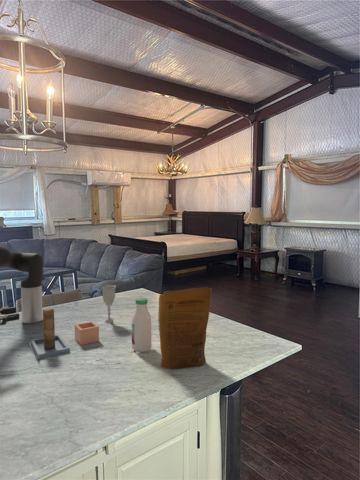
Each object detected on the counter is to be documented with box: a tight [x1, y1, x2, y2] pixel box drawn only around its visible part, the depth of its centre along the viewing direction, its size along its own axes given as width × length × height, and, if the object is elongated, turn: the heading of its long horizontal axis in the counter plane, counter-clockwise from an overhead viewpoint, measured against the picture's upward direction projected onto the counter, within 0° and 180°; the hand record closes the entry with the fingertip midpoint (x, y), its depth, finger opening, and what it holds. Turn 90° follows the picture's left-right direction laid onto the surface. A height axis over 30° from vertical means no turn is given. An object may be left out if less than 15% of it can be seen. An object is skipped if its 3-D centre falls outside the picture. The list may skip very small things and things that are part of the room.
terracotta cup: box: [74, 320, 100, 346], centre depth 135 cm, size 8×8×7 cm
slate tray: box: [30, 334, 71, 362], centre depth 127 cm, size 16×11×2 cm
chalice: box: [101, 284, 117, 324], centre depth 156 cm, size 7×7×18 cm
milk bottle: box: [131, 297, 152, 353], centre depth 128 cm, size 8×8×20 cm
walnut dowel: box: [42, 307, 56, 350], centre depth 126 cm, size 4×4×15 cm
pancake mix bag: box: [157, 287, 213, 370], centre depth 114 cm, size 7×19×28 cm, turn 102°
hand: (17, 312), depth 120 cm, fingers open, 8 cm apart
